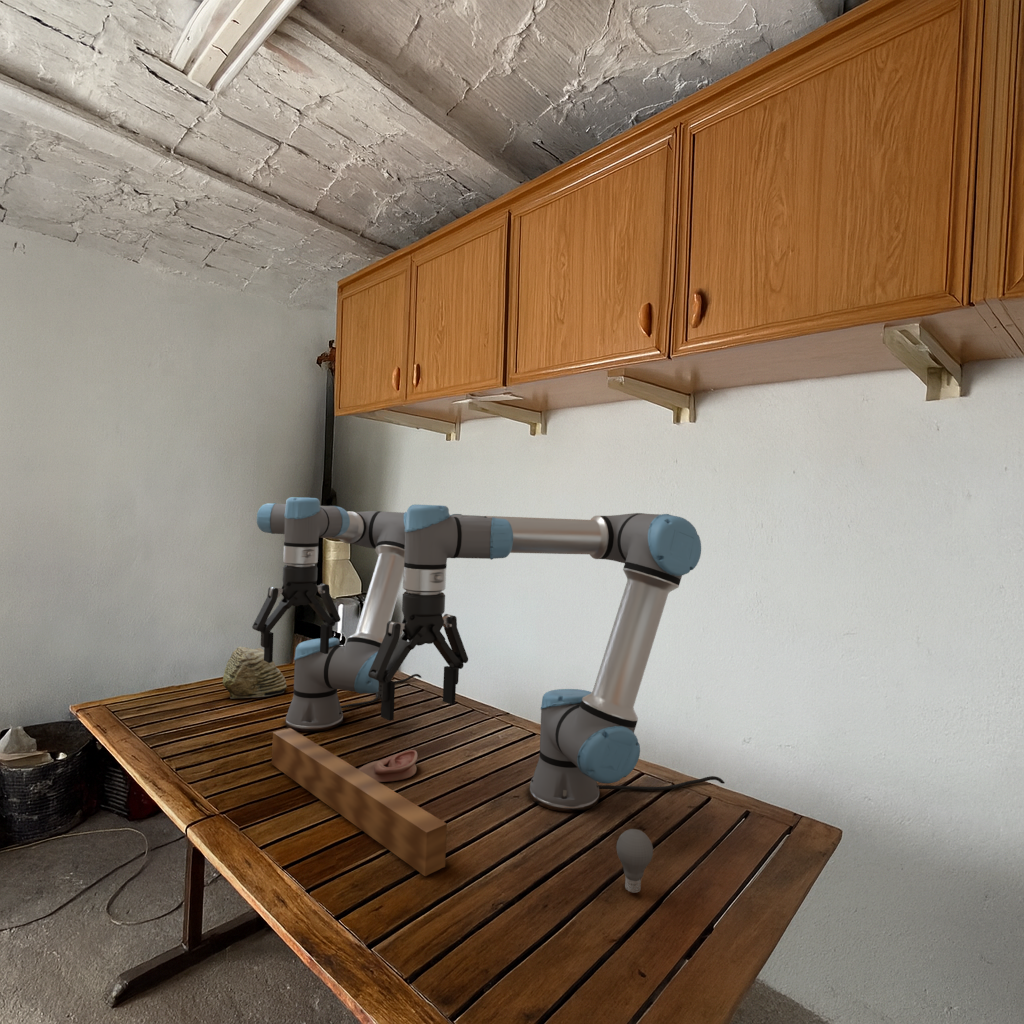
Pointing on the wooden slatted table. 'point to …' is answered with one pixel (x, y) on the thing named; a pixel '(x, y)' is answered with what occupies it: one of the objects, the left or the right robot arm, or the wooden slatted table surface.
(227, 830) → the wooden slatted table surface
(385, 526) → the left robot arm
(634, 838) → the light bulb
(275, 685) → the fossil
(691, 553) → the right robot arm
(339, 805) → the beam
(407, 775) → the anatomical model
